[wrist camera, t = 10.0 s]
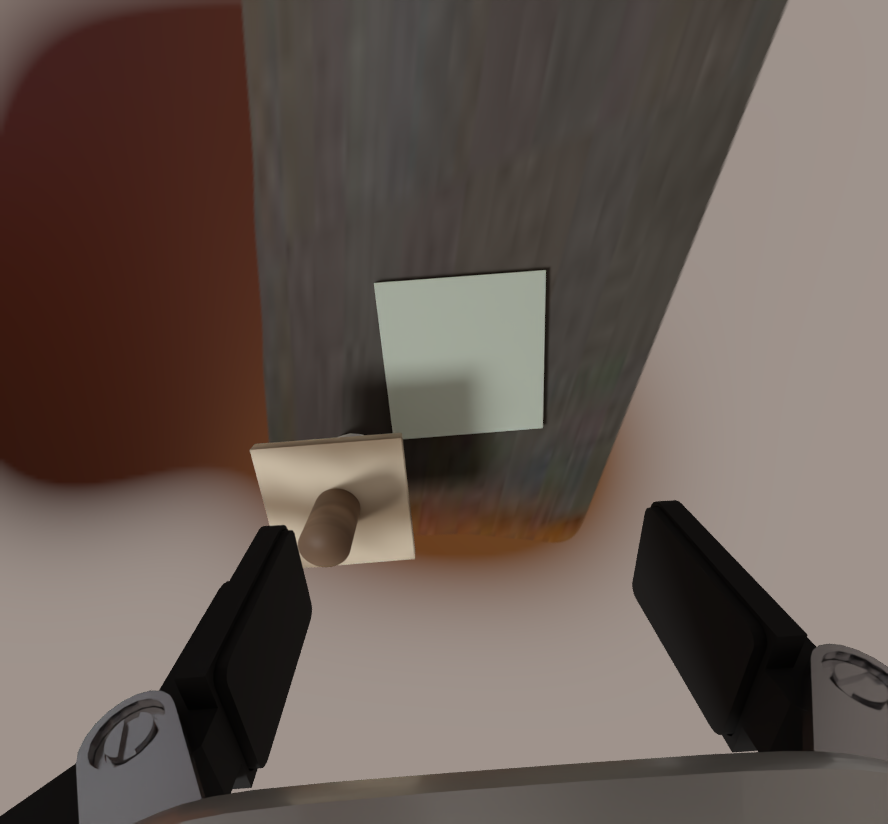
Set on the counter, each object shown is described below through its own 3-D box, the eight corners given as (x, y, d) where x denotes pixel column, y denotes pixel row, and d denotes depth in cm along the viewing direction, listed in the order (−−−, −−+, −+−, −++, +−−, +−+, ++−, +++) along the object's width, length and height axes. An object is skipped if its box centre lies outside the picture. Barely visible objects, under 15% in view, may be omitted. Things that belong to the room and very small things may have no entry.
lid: (255, 444, 30) (220, 482, 25) (401, 432, 31) (397, 467, 26) (285, 561, 34) (261, 614, 29) (415, 550, 35) (413, 601, 29)
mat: (374, 282, 33) (373, 283, 33) (544, 270, 34) (545, 270, 33) (393, 437, 38) (393, 440, 38) (541, 425, 39) (542, 428, 38)
